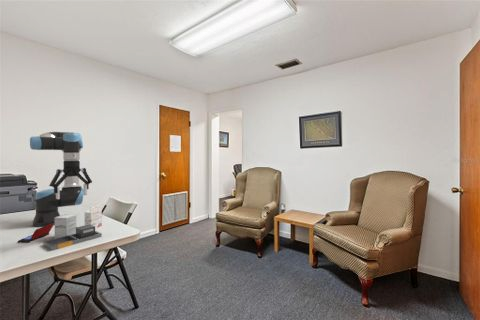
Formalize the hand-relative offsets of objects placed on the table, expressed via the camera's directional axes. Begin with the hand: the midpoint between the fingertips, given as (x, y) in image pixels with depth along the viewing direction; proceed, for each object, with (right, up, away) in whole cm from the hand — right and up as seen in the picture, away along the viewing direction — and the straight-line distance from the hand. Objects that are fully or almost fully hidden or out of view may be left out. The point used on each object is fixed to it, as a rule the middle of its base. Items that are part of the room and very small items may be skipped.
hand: (72, 197), depth 130 cm
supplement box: (-3, -23, -1) cm, 24 cm away
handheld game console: (-18, -24, -3) cm, 30 cm away
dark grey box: (+10, -23, -3) cm, 25 cm away
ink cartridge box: (+3, -23, +14) cm, 27 cm away
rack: (+6, -23, -7) cm, 25 cm away
